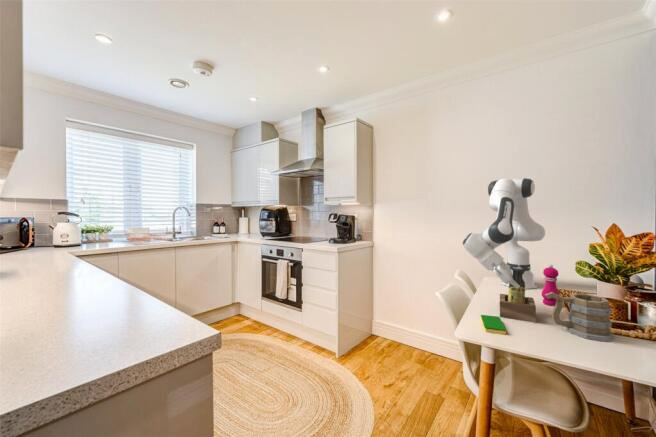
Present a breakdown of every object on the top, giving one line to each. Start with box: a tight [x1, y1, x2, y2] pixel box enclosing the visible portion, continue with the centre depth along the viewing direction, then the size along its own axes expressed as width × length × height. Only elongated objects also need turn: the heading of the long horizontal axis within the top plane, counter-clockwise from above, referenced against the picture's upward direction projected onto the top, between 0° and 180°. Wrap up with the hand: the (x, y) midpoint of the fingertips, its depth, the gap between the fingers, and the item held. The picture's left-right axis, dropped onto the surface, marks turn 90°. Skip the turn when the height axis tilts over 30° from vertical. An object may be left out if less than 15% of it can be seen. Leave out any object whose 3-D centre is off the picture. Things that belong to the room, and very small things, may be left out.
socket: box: [499, 293, 537, 324], centre depth 125 cm, size 13×13×7 cm
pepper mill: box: [541, 264, 561, 307], centre depth 136 cm, size 7×7×20 cm
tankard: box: [545, 292, 615, 342], centre depth 107 cm, size 20×13×15 cm, turn 64°
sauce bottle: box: [507, 267, 526, 304], centre depth 124 cm, size 7×6×20 cm
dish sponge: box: [480, 314, 507, 336], centre depth 114 cm, size 7×14×2 cm, turn 157°
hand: (518, 285), depth 124 cm, fingers closed on sauce bottle, 6 cm apart
